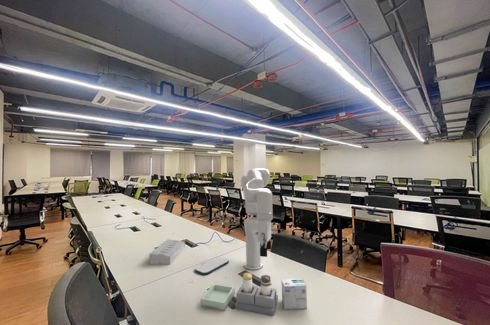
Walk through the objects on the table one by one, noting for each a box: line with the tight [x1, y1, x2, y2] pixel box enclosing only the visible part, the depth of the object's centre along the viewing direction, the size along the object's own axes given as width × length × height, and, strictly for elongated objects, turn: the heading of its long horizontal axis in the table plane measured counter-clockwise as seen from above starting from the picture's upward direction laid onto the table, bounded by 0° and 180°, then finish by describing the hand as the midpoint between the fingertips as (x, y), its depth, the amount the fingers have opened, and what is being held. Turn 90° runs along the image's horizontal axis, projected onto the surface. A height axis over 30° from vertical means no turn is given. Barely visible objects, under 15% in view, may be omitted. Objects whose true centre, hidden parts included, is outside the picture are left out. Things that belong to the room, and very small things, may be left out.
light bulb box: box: [280, 277, 308, 310], centre depth 101 cm, size 11×7×11 cm, turn 92°
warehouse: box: [149, 238, 186, 266], centre depth 162 cm, size 30×14×8 cm, turn 177°
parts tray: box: [200, 283, 236, 312], centre depth 106 cm, size 14×12×4 cm
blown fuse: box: [260, 274, 272, 297], centre depth 101 cm, size 4×4×11 cm
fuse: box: [242, 272, 253, 294], centre depth 104 cm, size 4×4×11 cm
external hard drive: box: [194, 256, 229, 276], centre depth 142 cm, size 24×12×2 cm, turn 143°
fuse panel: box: [234, 283, 279, 316], centre depth 102 cm, size 12×18×6 cm, turn 73°
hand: (265, 252), depth 102 cm, fingers open, 9 cm apart
